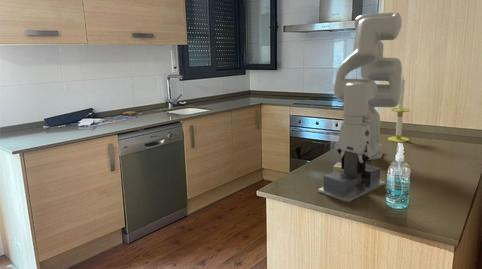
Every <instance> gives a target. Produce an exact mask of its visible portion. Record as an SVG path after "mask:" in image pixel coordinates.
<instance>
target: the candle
mask: <svg viewBox="0 0 482 269" xmlns="http://www.w3.org/2000/svg"><path fill="white" fill-rule="evenodd" d="M405 82H406V80H405V78H404V75H402V76H401V91H400V101H399V104H398V105H397V108H396V107H392V108H391V111H392V112H395V113H397V115H396V116H397V118H396V129H395V130H396V131H395V136H390V137H387V140H388V141H390V142H395V143H407V142H406V141H408V142H409V141H410V139H409V138H408V137H404V136H402V133H403V132H402V130H403V116H404V113H408V112H410V111H411V110H410V108H409V109H408V108H404V100H405V99H404V97H405V85H406V83H405Z"/></svg>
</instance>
